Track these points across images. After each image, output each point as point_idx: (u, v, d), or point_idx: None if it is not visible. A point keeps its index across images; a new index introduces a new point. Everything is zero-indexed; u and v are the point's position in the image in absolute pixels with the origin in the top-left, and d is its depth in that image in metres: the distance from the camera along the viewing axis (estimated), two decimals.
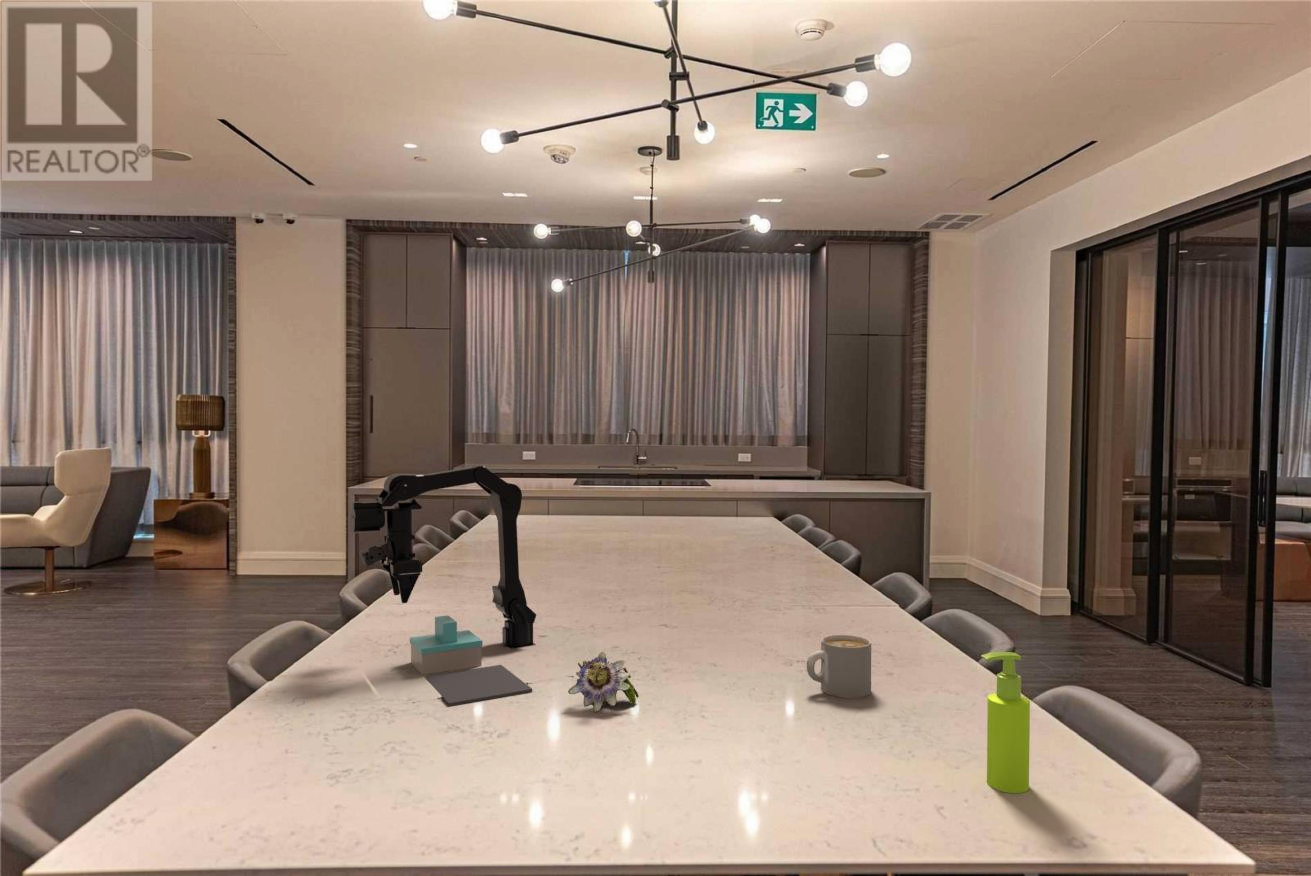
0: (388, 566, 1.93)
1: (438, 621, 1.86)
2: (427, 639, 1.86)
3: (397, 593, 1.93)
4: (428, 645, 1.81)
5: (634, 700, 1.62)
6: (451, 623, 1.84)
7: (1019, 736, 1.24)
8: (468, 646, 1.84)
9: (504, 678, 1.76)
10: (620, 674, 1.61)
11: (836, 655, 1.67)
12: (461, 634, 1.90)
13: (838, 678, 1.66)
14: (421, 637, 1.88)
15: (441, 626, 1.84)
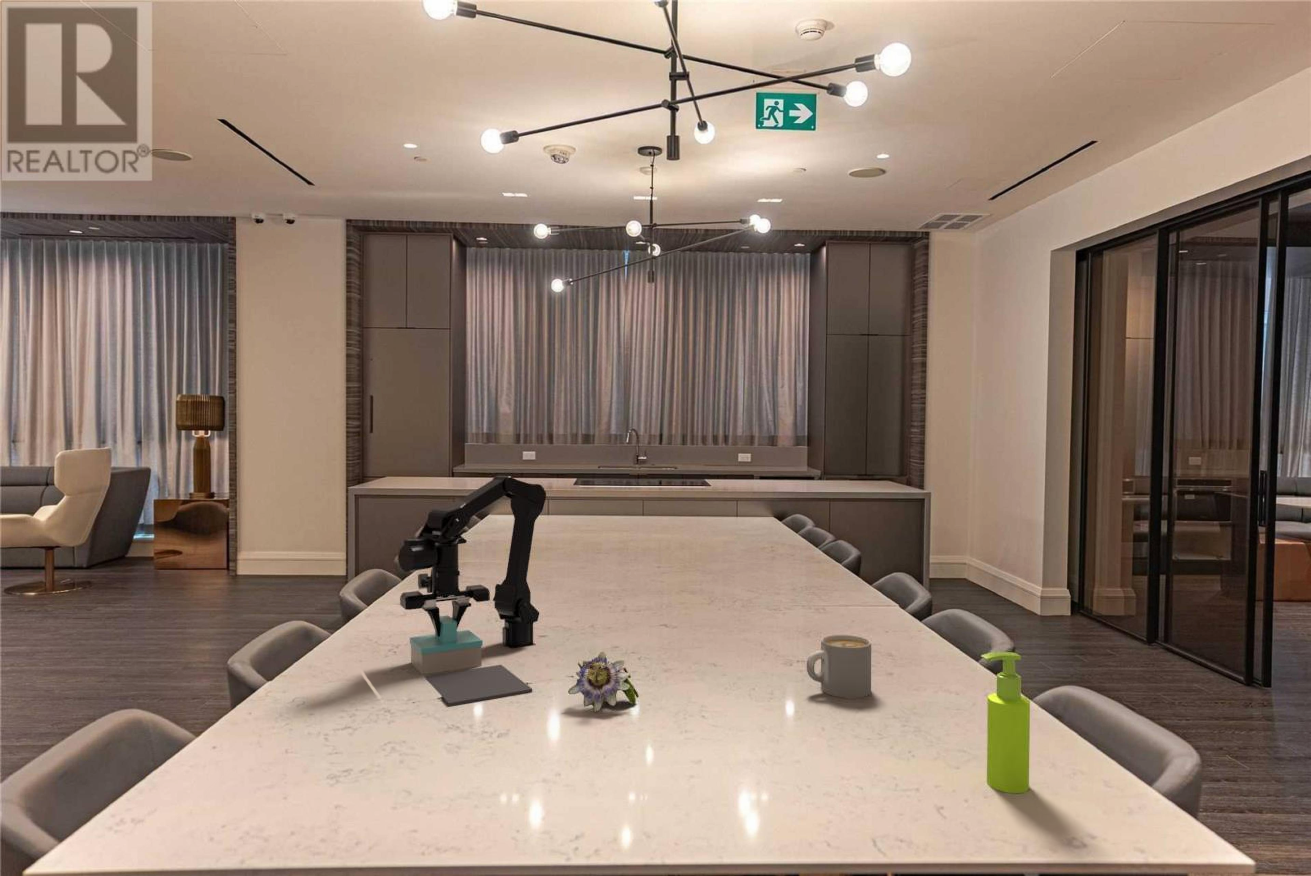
0: (453, 602, 1.89)
1: None
2: (427, 639, 1.86)
3: None
4: (428, 645, 1.81)
5: (634, 700, 1.62)
6: (451, 623, 1.84)
7: (1019, 736, 1.24)
8: (468, 646, 1.84)
9: (504, 678, 1.76)
10: (620, 674, 1.61)
11: (836, 655, 1.67)
12: (461, 634, 1.90)
13: (838, 678, 1.66)
14: (421, 637, 1.88)
15: (441, 626, 1.84)
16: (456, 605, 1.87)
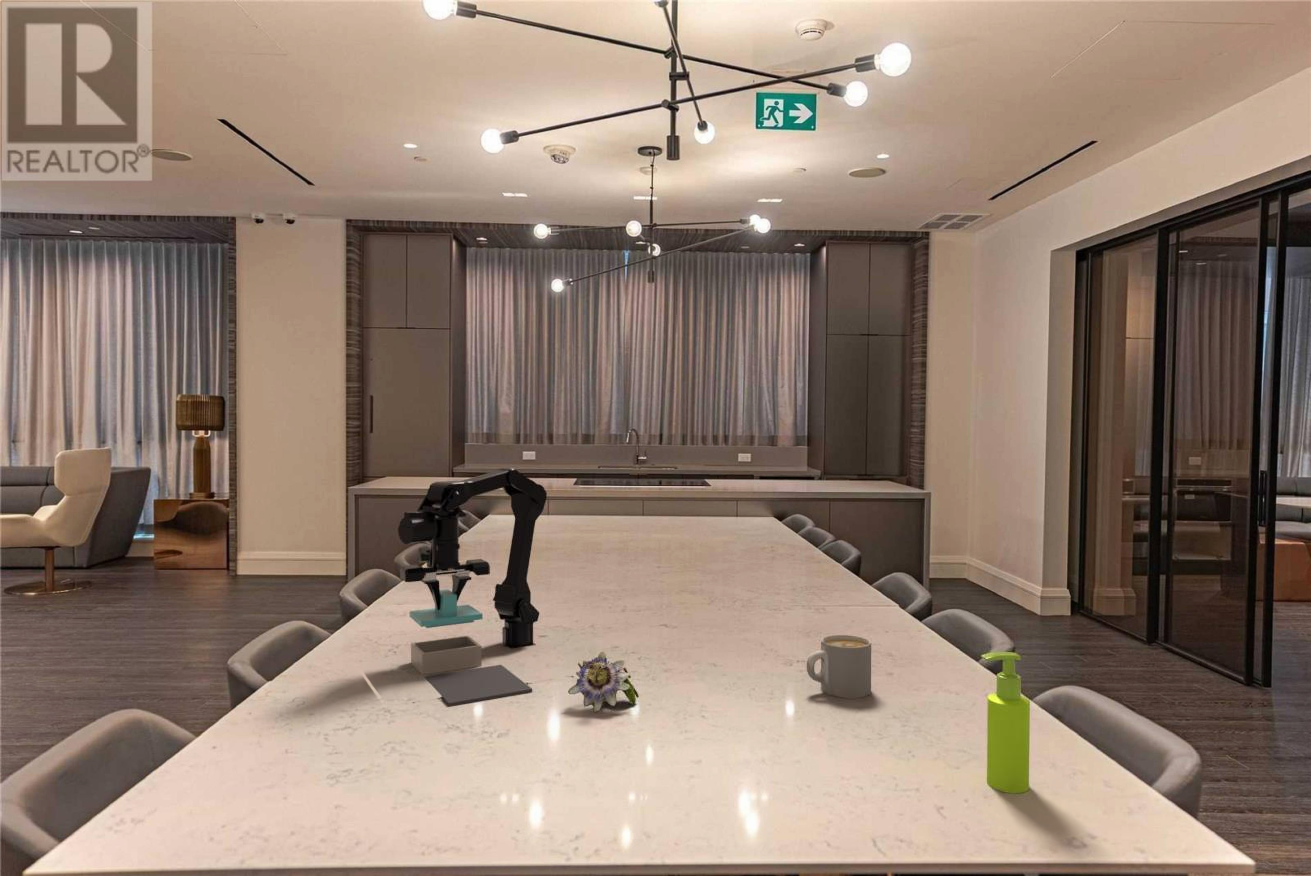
0: (453, 576, 1.89)
1: None
2: (427, 612, 1.86)
3: None
4: (428, 618, 1.81)
5: (634, 700, 1.62)
6: (451, 596, 1.83)
7: (1019, 736, 1.24)
8: (468, 619, 1.83)
9: (504, 678, 1.76)
10: (620, 674, 1.61)
11: (836, 655, 1.67)
12: (461, 608, 1.90)
13: (838, 678, 1.66)
14: (421, 611, 1.88)
15: (441, 599, 1.84)
16: (456, 578, 1.86)
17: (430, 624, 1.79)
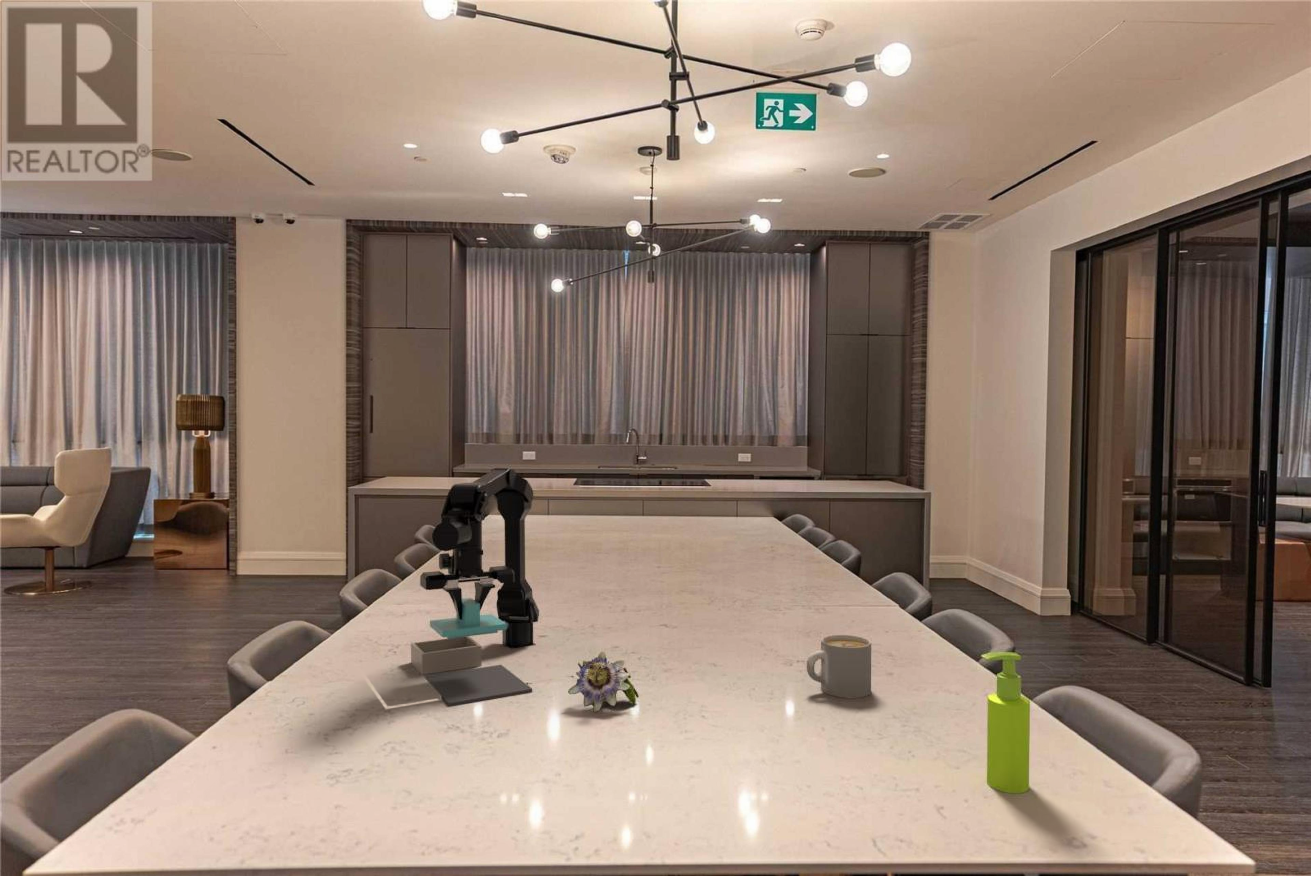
0: (475, 584, 1.78)
1: None
2: (448, 622, 1.76)
3: None
4: (449, 628, 1.71)
5: (634, 700, 1.62)
6: (474, 605, 1.73)
7: (1019, 736, 1.24)
8: (492, 629, 1.73)
9: (504, 678, 1.76)
10: (620, 674, 1.61)
11: (836, 655, 1.67)
12: (484, 618, 1.80)
13: (838, 678, 1.66)
14: (442, 620, 1.77)
15: (463, 608, 1.74)
16: (479, 586, 1.76)
17: (452, 634, 1.69)
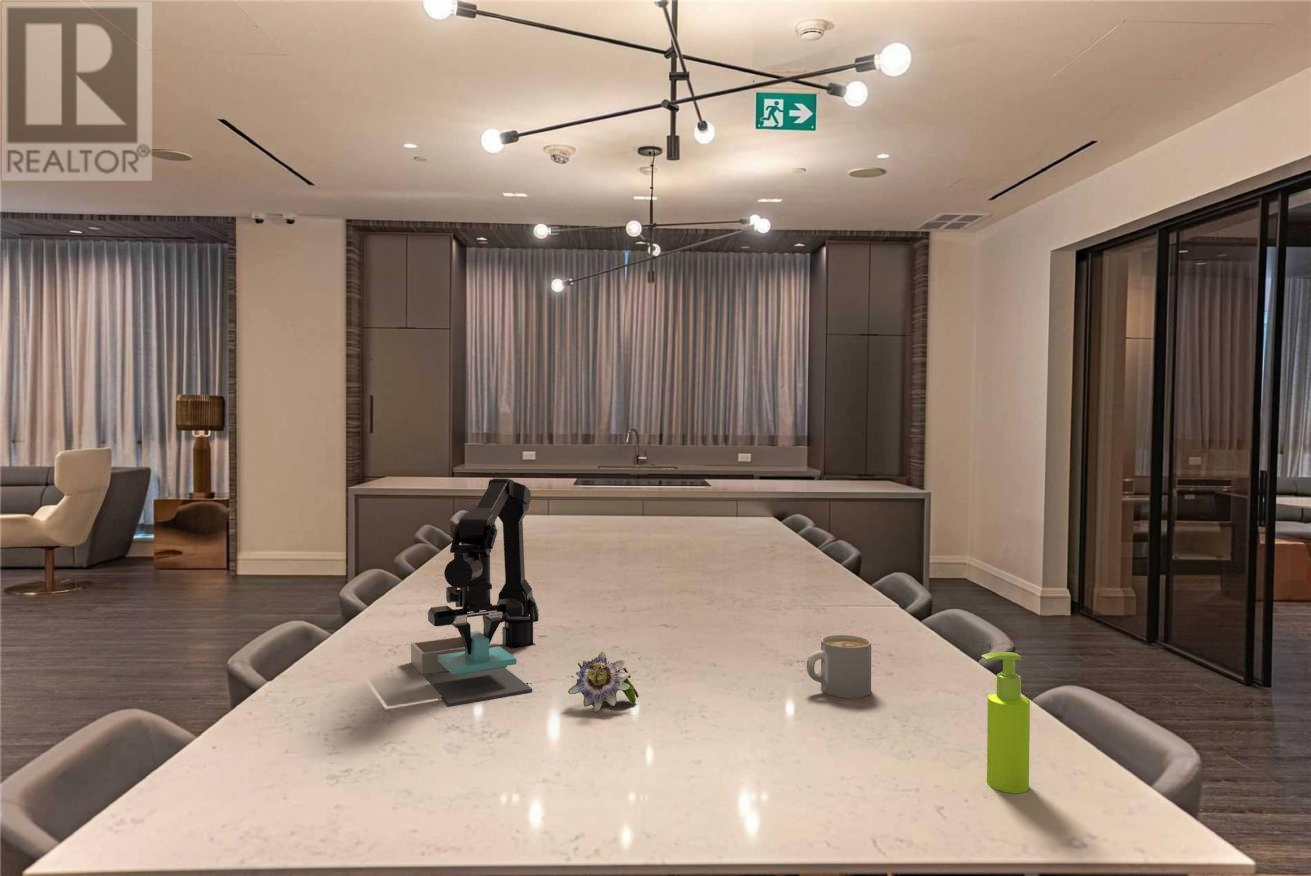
0: (484, 618, 1.76)
1: None
2: (457, 657, 1.73)
3: None
4: (459, 664, 1.68)
5: (634, 700, 1.62)
6: (483, 640, 1.71)
7: (1019, 736, 1.24)
8: (501, 665, 1.71)
9: (504, 678, 1.76)
10: (620, 674, 1.61)
11: (836, 655, 1.67)
12: (492, 651, 1.77)
13: (838, 678, 1.66)
14: (450, 655, 1.75)
15: (472, 643, 1.71)
16: (488, 620, 1.74)
17: (461, 671, 1.67)
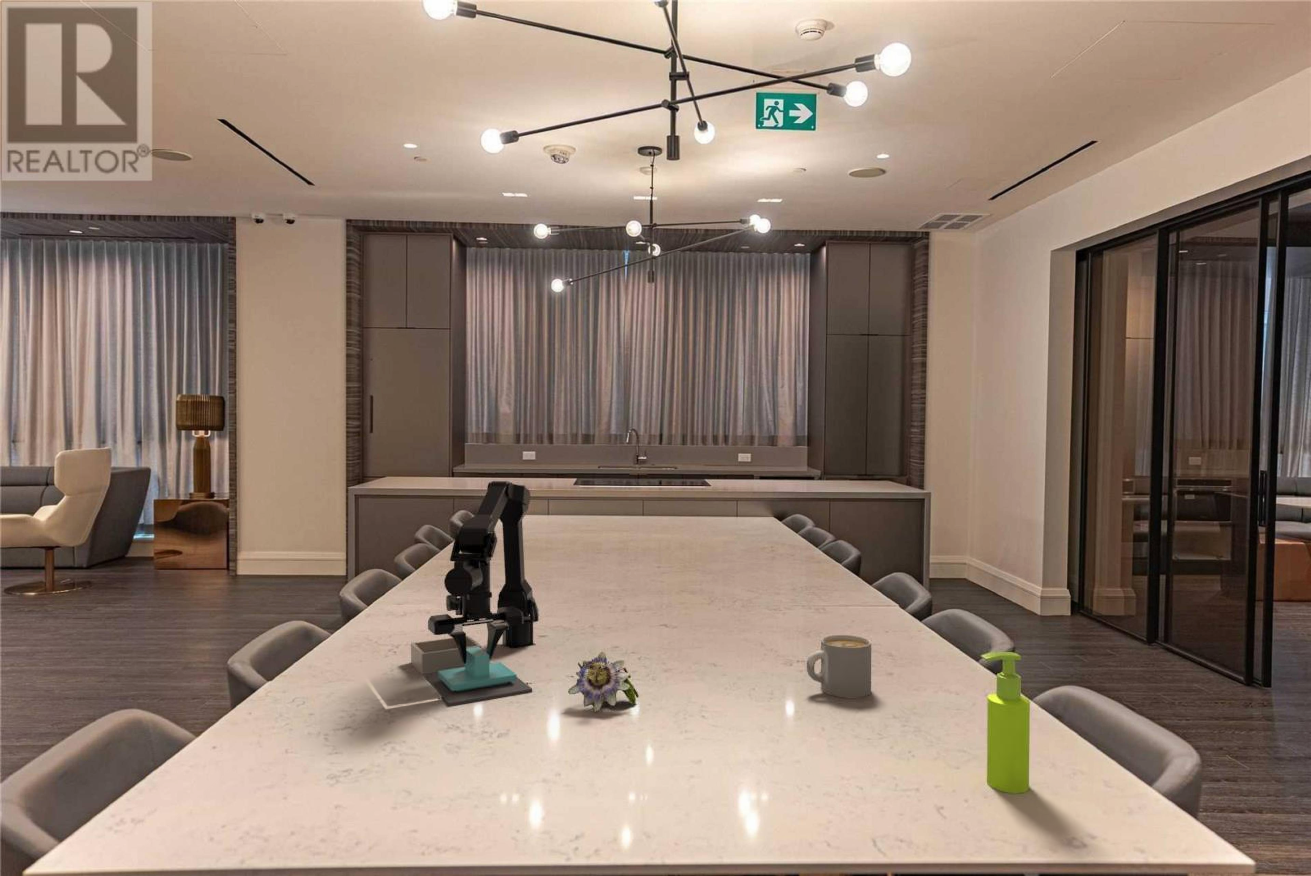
0: (488, 625, 1.76)
1: (469, 654, 1.73)
2: (457, 673, 1.73)
3: None
4: (459, 680, 1.68)
5: (634, 700, 1.62)
6: (483, 656, 1.71)
7: (1019, 736, 1.24)
8: (501, 681, 1.71)
9: None
10: (620, 674, 1.61)
11: (836, 655, 1.67)
12: (493, 667, 1.78)
13: (838, 678, 1.66)
14: (450, 670, 1.75)
15: (472, 659, 1.71)
16: (492, 628, 1.74)
17: (461, 688, 1.67)
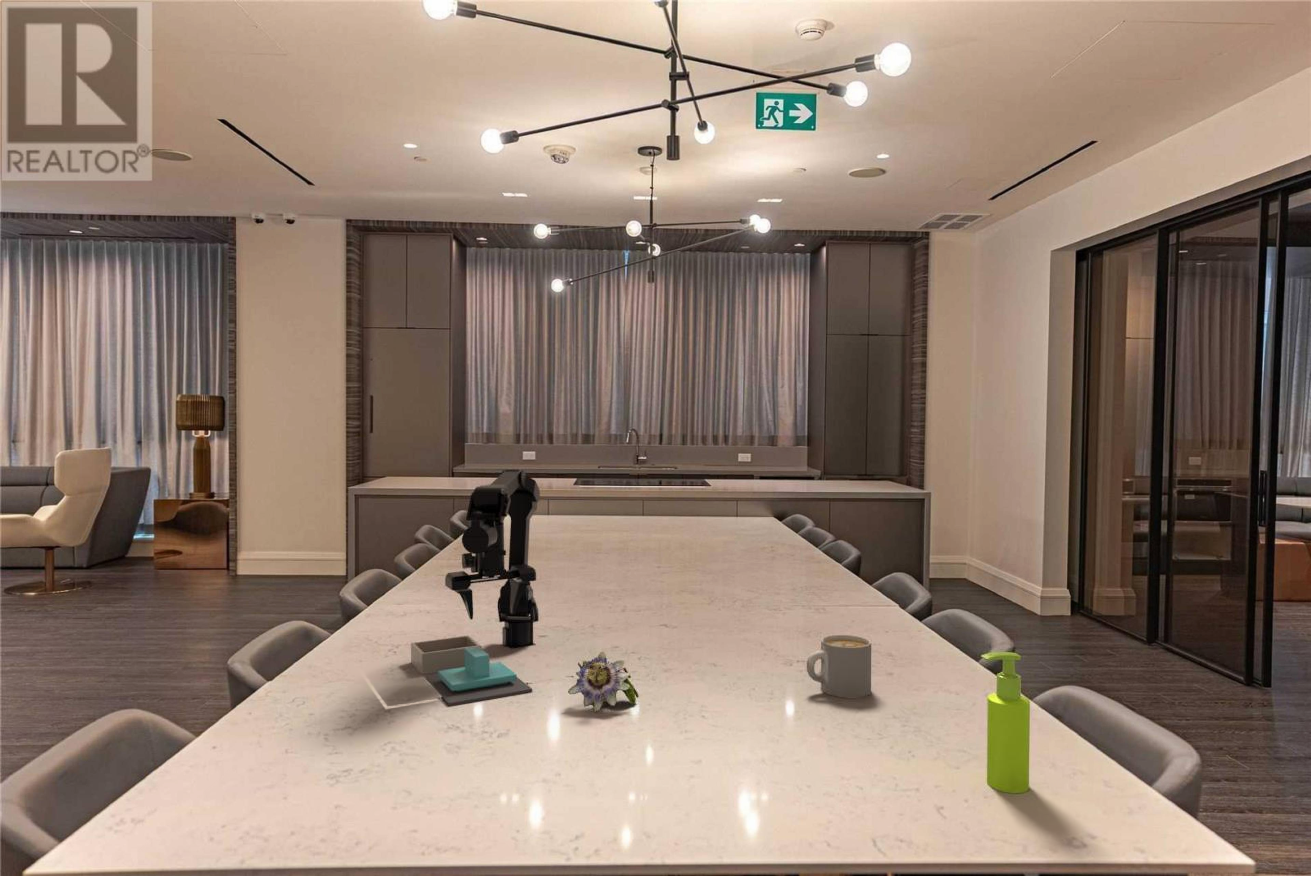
0: (511, 581, 1.85)
1: (469, 654, 1.73)
2: (457, 673, 1.73)
3: (511, 611, 1.84)
4: (459, 680, 1.68)
5: (634, 700, 1.62)
6: (483, 656, 1.71)
7: (1019, 736, 1.24)
8: (501, 681, 1.71)
9: None
10: (620, 674, 1.61)
11: (836, 655, 1.67)
12: (493, 667, 1.78)
13: (838, 678, 1.66)
14: (450, 670, 1.75)
15: (472, 659, 1.71)
16: (515, 584, 1.83)
17: (461, 688, 1.67)
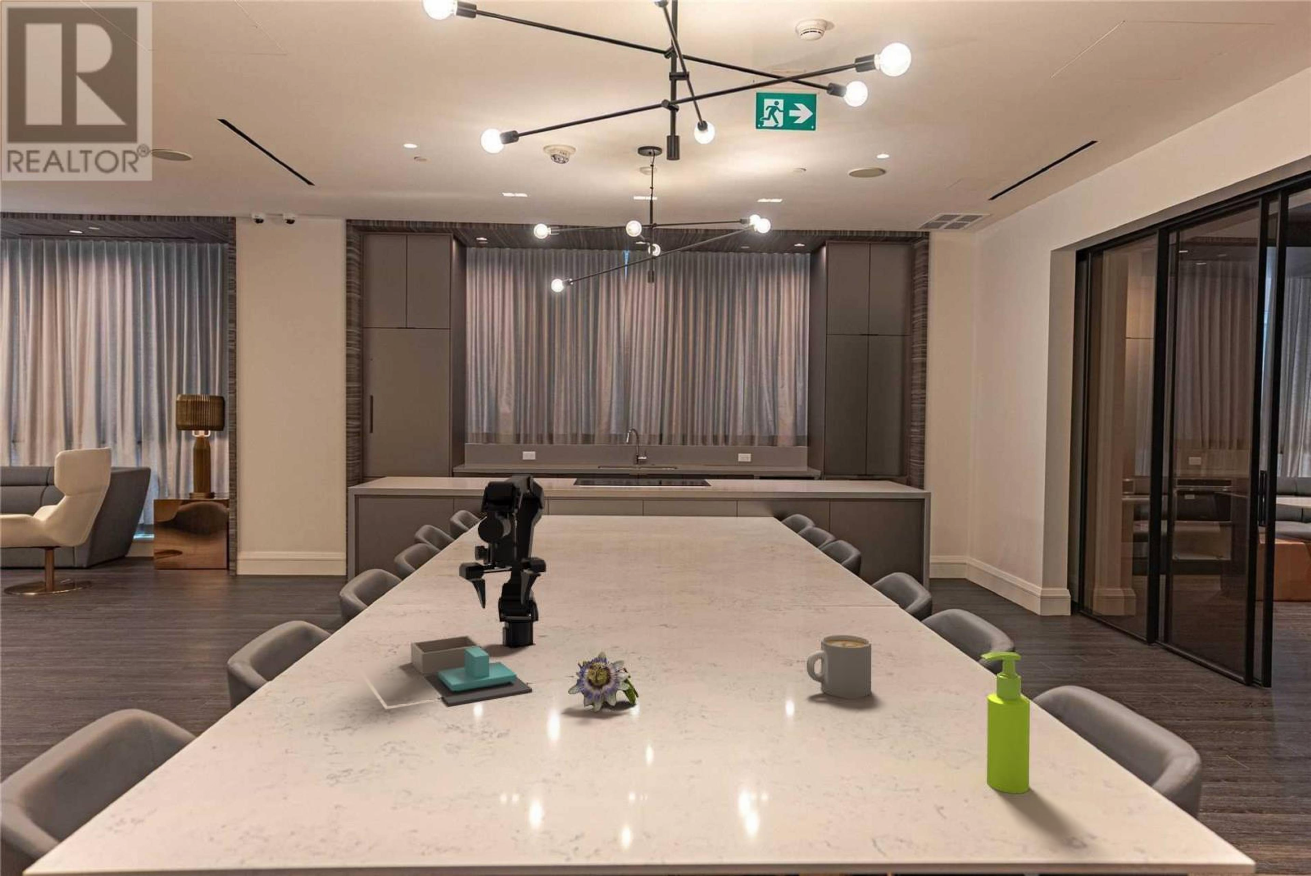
0: (522, 573, 1.92)
1: (469, 654, 1.73)
2: (457, 673, 1.73)
3: (522, 602, 1.91)
4: (459, 680, 1.68)
5: (634, 700, 1.62)
6: (483, 656, 1.71)
7: (1019, 736, 1.24)
8: (501, 681, 1.71)
9: None
10: (620, 674, 1.61)
11: (836, 655, 1.67)
12: (493, 667, 1.78)
13: (838, 678, 1.66)
14: (450, 670, 1.75)
15: (472, 659, 1.71)
16: (526, 575, 1.90)
17: (461, 688, 1.67)
